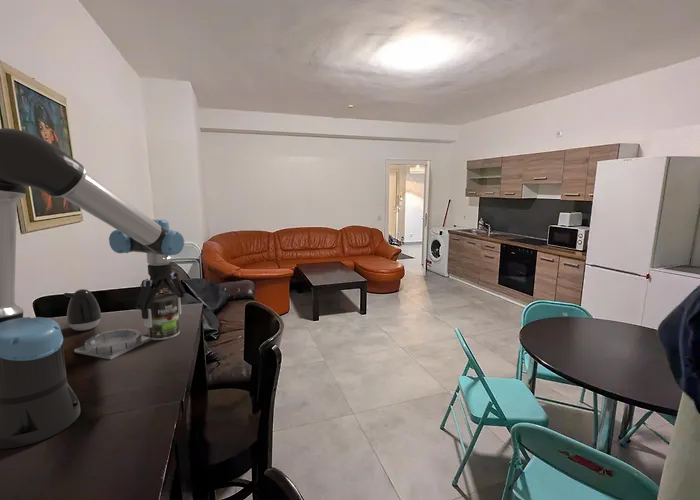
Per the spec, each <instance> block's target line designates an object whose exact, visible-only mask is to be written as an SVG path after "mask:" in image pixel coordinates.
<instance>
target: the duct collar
mask: <svg viewBox="0 0 700 500" xmlns="http://www.w3.org/2000/svg"><path fill="white" fill-rule="evenodd" d="M150 341H152V339H151V337H148V336H143V335H142V333H141V331H139V329H134V328H118V329H112V330H108V331H103V332H99V333H97V334H95V335H92V336H91V337H89V338H87V340H85V341H84V345H82V346H80V347H77V348H75V349H74V353H75V354H81V355H85V356H91V357H94V358H95V357H96V358H99V359H100V358H102V359H105V360H113V359H115V358H116V357H119V356H121V355H124V354H125V353H128V352H130V351H131V350H134V349H135V348H138V347H139V346H142V345H143V344H146V343H148V342H150Z"/></svg>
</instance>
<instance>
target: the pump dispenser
mask: <svg viewBox="0 0 700 500" xmlns="http://www.w3.org/2000/svg"><path fill="white" fill-rule="evenodd" d="M63 296H65V297H68V298H70V300H69V301H68V302H69V303H68V307H67V312H66V323H68V325H69V327H70V328H71V329H72V330H74V331H78V332H79V331H80V332H84V331H88V330H91V329H94V328H95V327H97V326H98V324H99V323H100V321H101V318H102V313H101V308H100V305H99V303H98V300H97V299H96V297H95V295H94V294H93V293H92V292H91V291H90V290H88V289H85V288H83V289H78V290H76V291H74V293H70V292H63Z"/></svg>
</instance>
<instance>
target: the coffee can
mask: <svg viewBox="0 0 700 500" xmlns="http://www.w3.org/2000/svg"><path fill="white" fill-rule="evenodd" d="M149 309H151V316H152V327H151V328H149V327H147V333H148V334H147V337H151V341H152V340H153V341H163V340H164V341H165V340H169V339H172V338H174V337H177V336H178V335H180V316H179V315H180V314H179V313H178V296H177V295H175V294H173V293H161V294H160V293H159V294H156V295H155V297H154V299H153V301H152V303H151V305H150V307H149Z"/></svg>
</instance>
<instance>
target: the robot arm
mask: <svg viewBox="0 0 700 500" xmlns="http://www.w3.org/2000/svg"><path fill="white" fill-rule="evenodd" d="M27 187H30V188H34V189H37V190H39V191H41V192H43V193H45V194H47V195H48V196H51V198H60V197H61V198H63V199H65V200H66V201H68V202H70V203H71V204H73V205H75V206H76V207H78V208H80V209H81V210H83V211H85V212H87V213H88V214H89V215H92V216H93V217H95V218H97V219H99V220H100V221H101V222H103V223H106V224H107V225H108V226H110V227H112V228H113V229H115V230H113V231H112V232H111V233H110V234H109V238H108V243H109V246H110V248H111V250H112V251H113V252H115V253H117V254H129V253H134V252H135V253H142V254H143V253H145V254H146V261H147V274H148V275H149V280H146V279H145V280H144V279H143V280H142V281H141V288H140V292H139V294H138V298H137V301H136V304H135V310H139V311H141V318H142V319H143V327H145V328H148V327H149V328H151V327H152V316H151V309H149V307H150V305H151V303H152V301H153V299H154V297H155V295H157V293H159V292H160V291H161V290H163V289H168V291H170V293H171V294H175V295H177V296H178V313H179V315H182V299H183V298H184V297H185V294H186V290H185V288H184V285H183V284H182V282H181V280H180V278H179V273H178V272H173V266H172V264H173V263H171V262H172V256H176V255H178V254H180V253H181V252H182V250H183V249H184V247H185V238H184V236H183V235H182V233H181V232H180V231H179V232H178V231H176V230H170V224H169V221H168V220H166V219H151V218H150V217H149V216H147V214H145V213H144V212H142V211H140V210H139V209H137V208H136V207H135V206H133V204H130V203H129V202H127V201H126V200H125V199H123V198H122V197H121V196H119V195H117V194H116V193H114V192H113V191H112V190H111V189H109V188H108V187H106V186H105V185H104V184H102V183H100V182H99V181H98V180H97V179H95V178H94V177H92V176H90V174H88V173H87V172H86V168H85V166H84V165H83V164H82V163H80V162H78V161H77V160H76V159H75V158H73V157H72V156H70V155H69V154H68V153H66V152H64V151H63V150H61V149H60V148H58V147H57V146H55V145H54V144H52V143H50V142H48V141H47V140H45V139H43V138H41V137H39V136H38V135H35V134H33V133H31V132H28V131H25V130H21V129H16V128H10V127H9V128H7V127H6V128H5V127H4V128H2V127H1V128H0V449H3V450H5V449H15V448H22V447H25V446H29V445H32V444H35V443H39V442H42V441H43V440H47V439H48V438H51V437H53V436H55V435H58V434H59V433H60V432H63V431H64V430H65V429H66V428H68V427H70V426H71V425H72V424H73V423H75V422H76V421H77V419H78V418H79V416H80V414H81V405H80V404H81V403H80V401H79V399H78V397H77V395H76V393H74V391H73V389H72V387H71V386H70V385H69V383H68V377H67V370H66V362H65V361H66V360H65V359H66V358H65V351H64V350H65V349H64V336H63V333H62V330H61V326H60V324H59V323H58V322H57V321H55V320H54V319H51V318H49V317H42V316H35V317H30V316H25V317H24V309H23V308H22V307H20V306H19V305H17V304H16V302H15V299H16V297H15V296H16V295H15V293H16V250H17V247H16V246H17V245H16V244H17V216H18V215H17V210H18V209H17V206H18V202H19V201H20V200H21V199H23V198H25V197H26V196H27Z"/></svg>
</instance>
